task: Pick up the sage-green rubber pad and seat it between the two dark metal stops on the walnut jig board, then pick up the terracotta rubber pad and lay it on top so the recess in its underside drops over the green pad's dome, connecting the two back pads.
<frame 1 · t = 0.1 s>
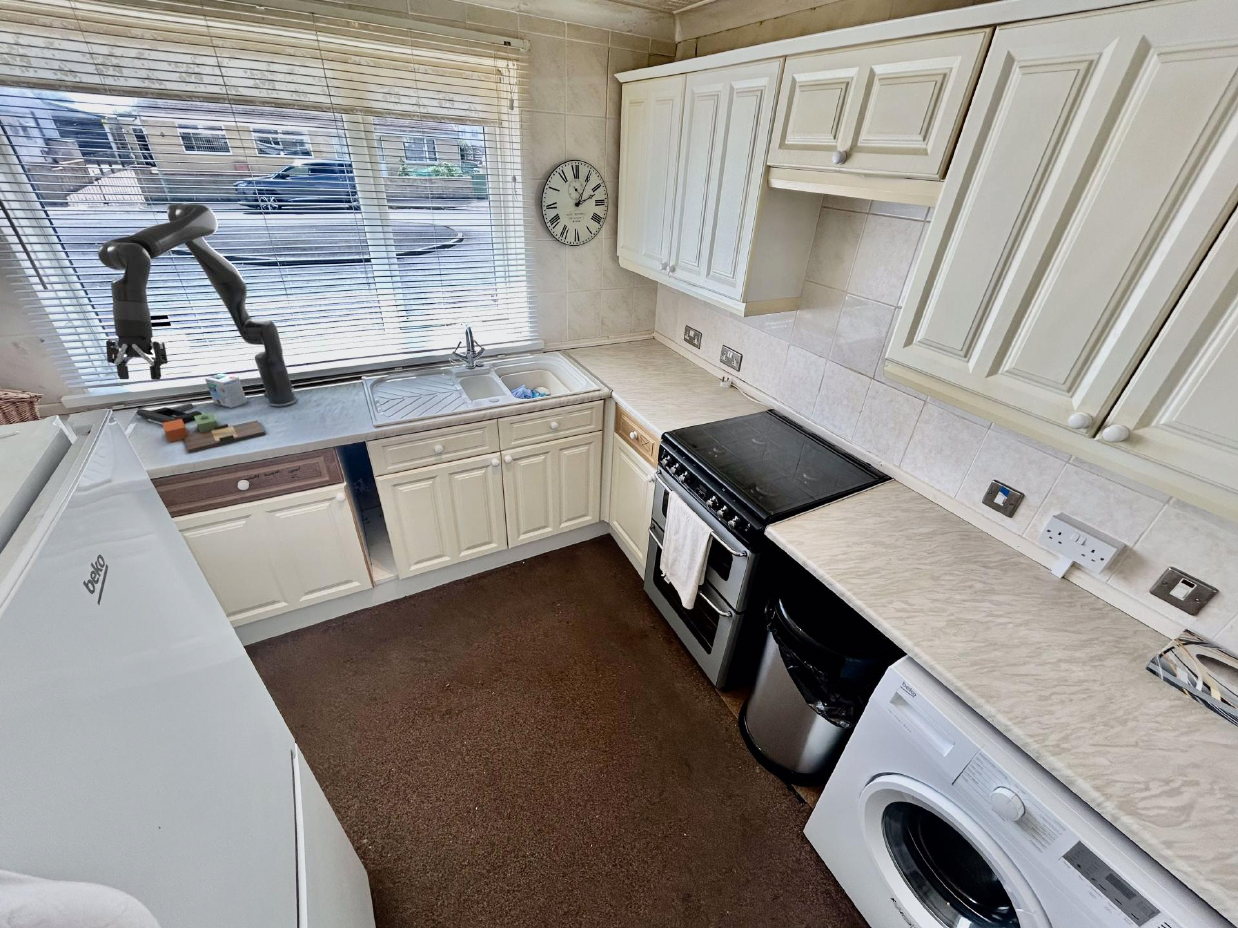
hand: (140, 379, 145), 31 cm above the table, tool tilted 20°, fingers open, 8 cm apart
jig board: (225, 437, 183), on the table
sage pad: (208, 428, 188), on the table
terracotta pad: (178, 435, 183), on the table
light bulb box: (231, 403, 208), on the table
door handle: (175, 416, 196), on the table
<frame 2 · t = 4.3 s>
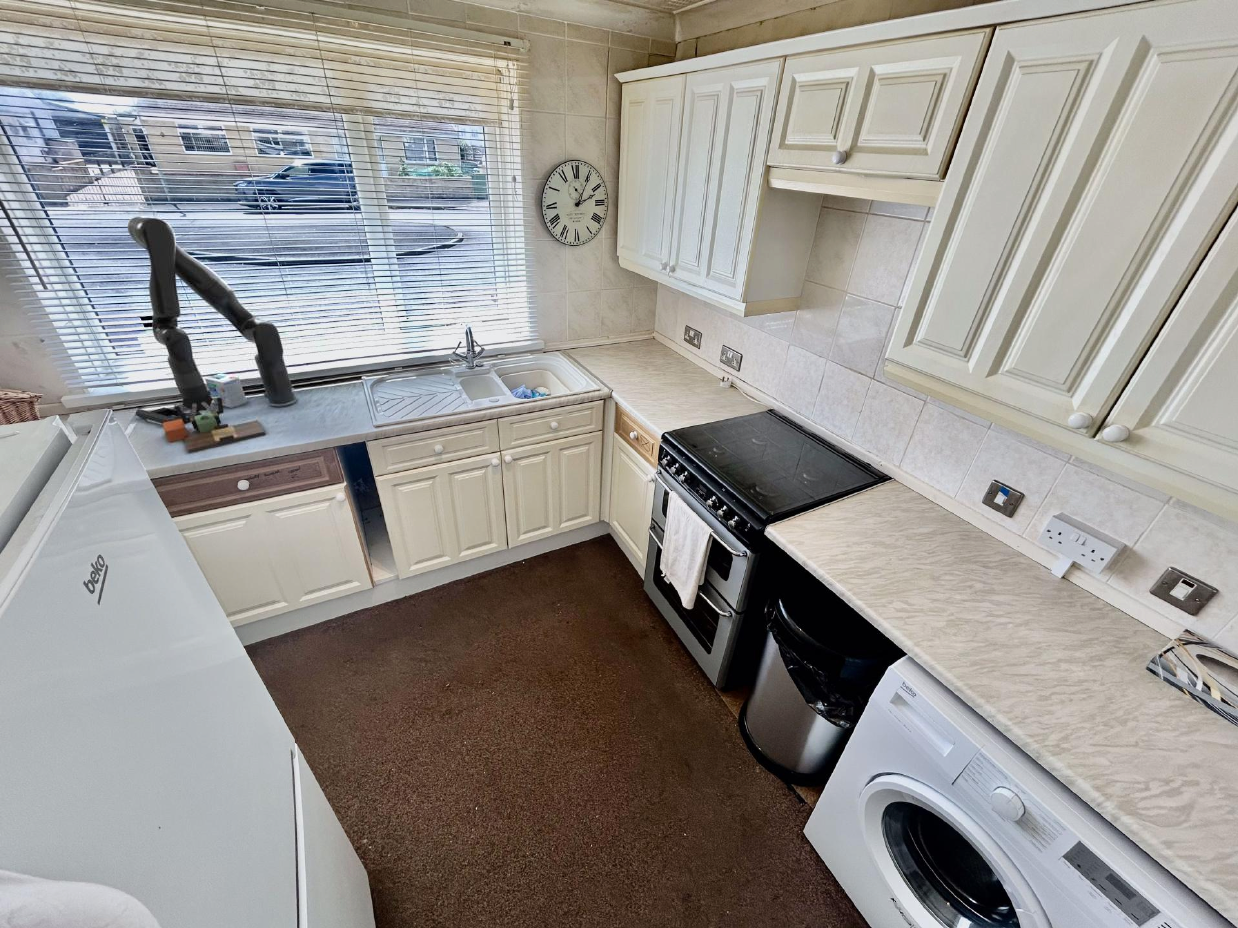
hand: (208, 427, 188), 1 cm above the table, tool pointing down, fingers closed on sage pad, 5 cm apart
sage pad: (208, 428, 188), on the table, touching gripper
everything else where it was.
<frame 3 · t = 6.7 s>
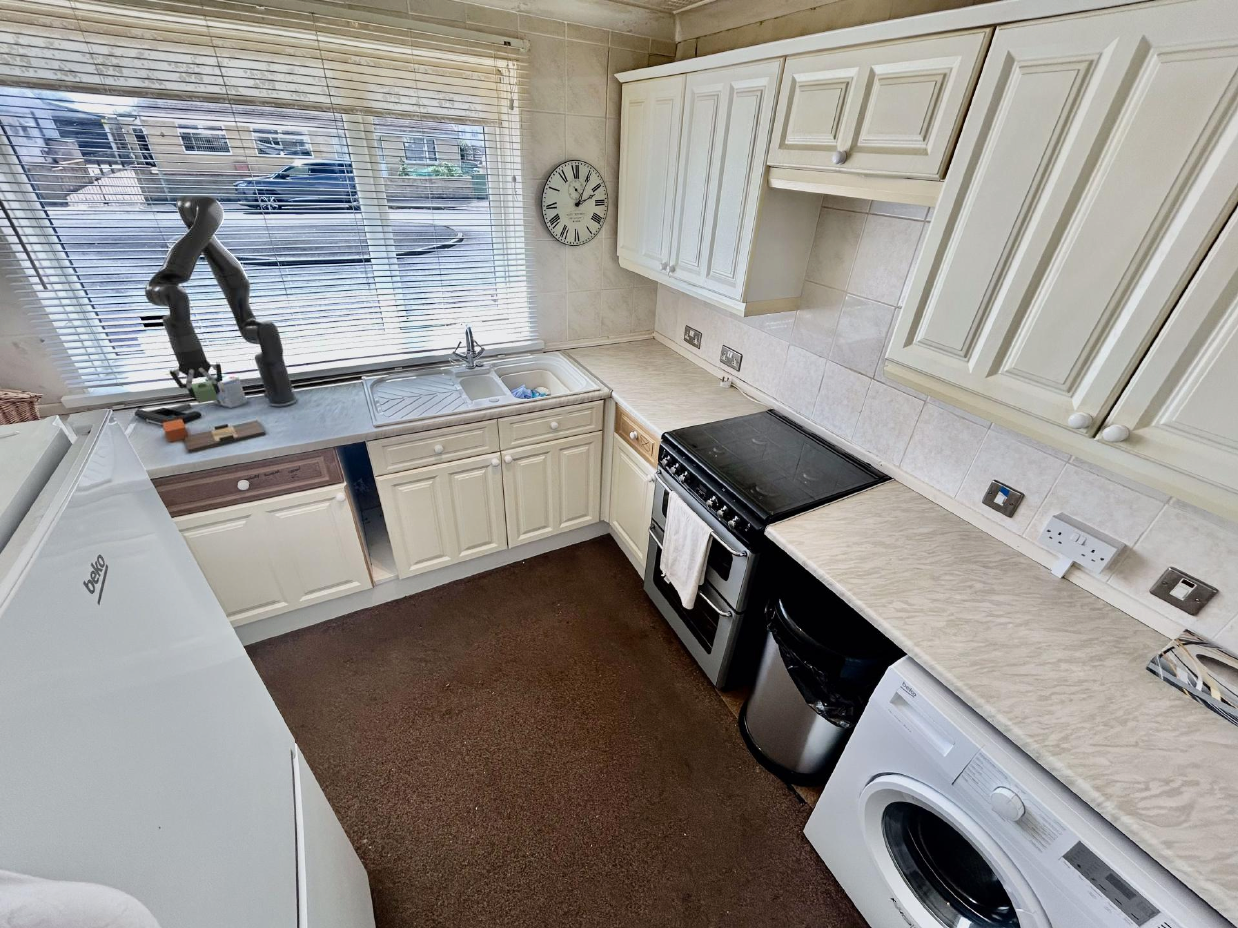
hand: (206, 395, 176), 15 cm above the table, tool pointing down, fingers closed on sage pad, 5 cm apart
sage pad: (206, 397, 176), point 15 cm above the table, touching gripper
everything else where it was.
when the fingers open (2 cm above the table, at t = 9.5 s): sage pad stays where it is, resting on jig board.
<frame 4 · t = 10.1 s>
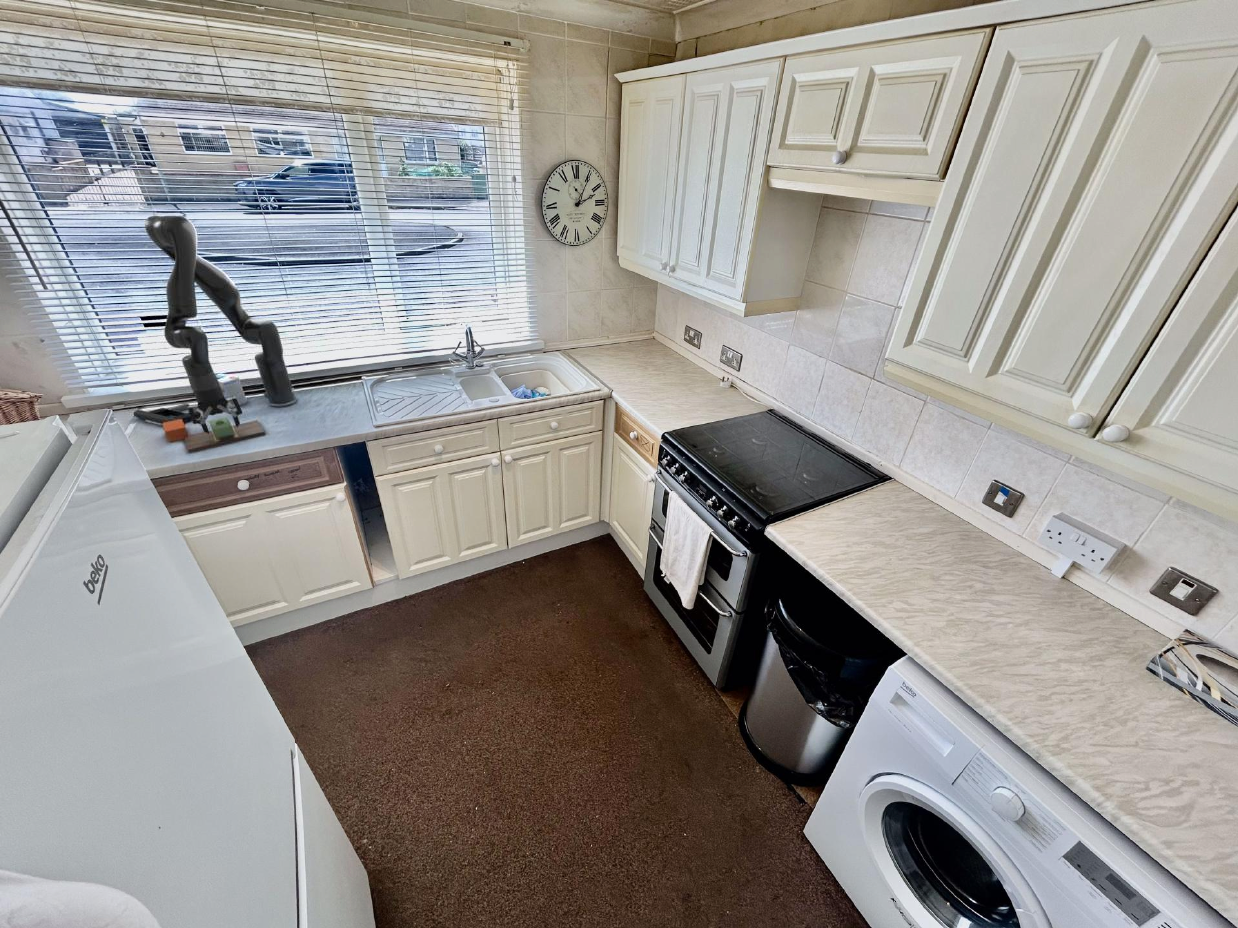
hand: (222, 429, 182), 3 cm above the table, tool pointing down, fingers open, 8 cm apart
sage pad: (224, 433, 182), point 1 cm above the table, touching jig board
everything else where it was.
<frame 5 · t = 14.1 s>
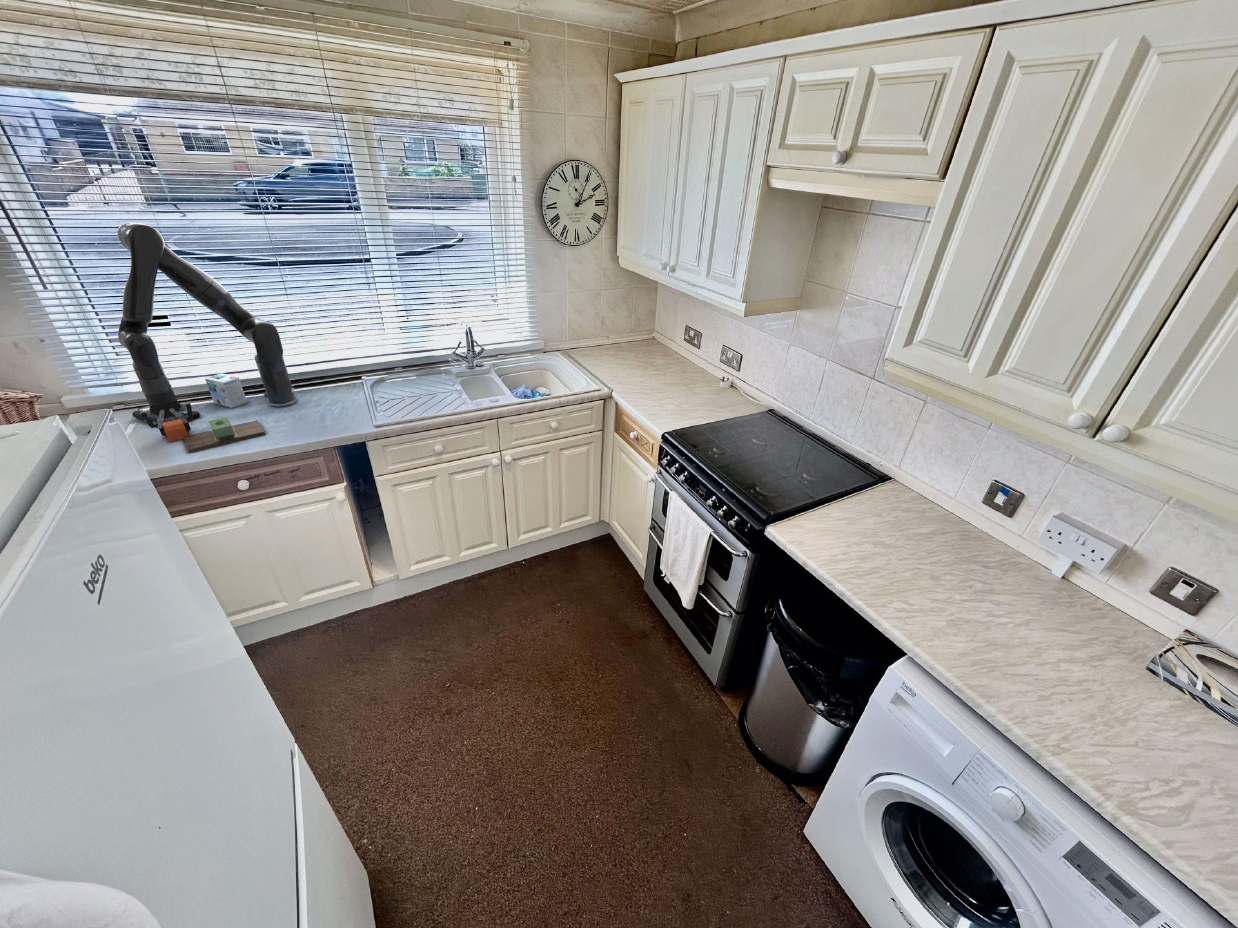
hand: (177, 434, 183), 1 cm above the table, tool pointing down, fingers closed on terracotta pad, 5 cm apart
terracotta pad: (178, 435, 183), on the table, touching gripper
everything else where it was.
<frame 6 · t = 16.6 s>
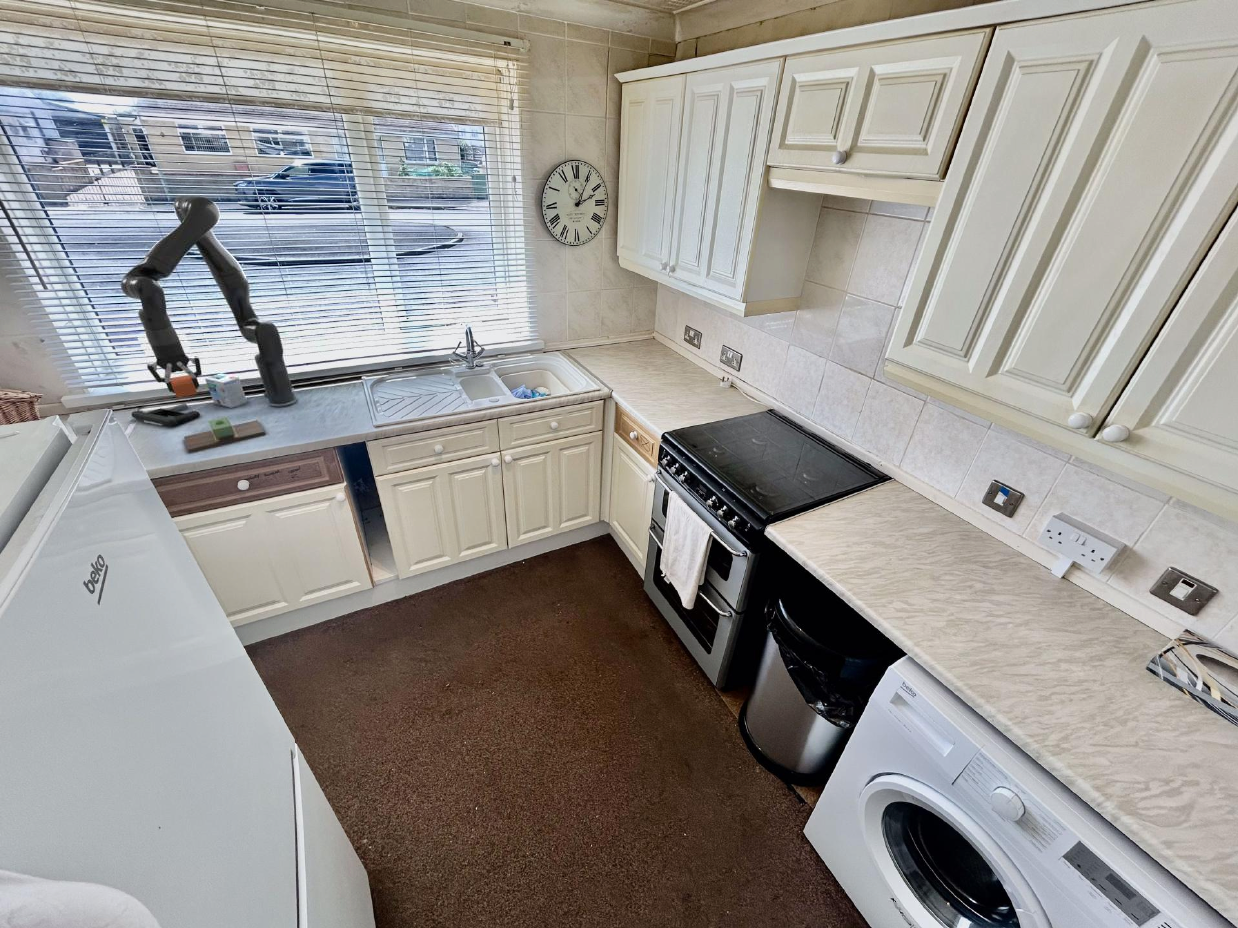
hand: (185, 390, 175), 17 cm above the table, tool pointing down, fingers closed on terracotta pad, 5 cm apart
terracotta pad: (186, 391, 175), point 17 cm above the table, touching gripper
when the fingers open (6 cm above the table, at t = 19.6 s): terracotta pad stays where it is, resting on sage pad.
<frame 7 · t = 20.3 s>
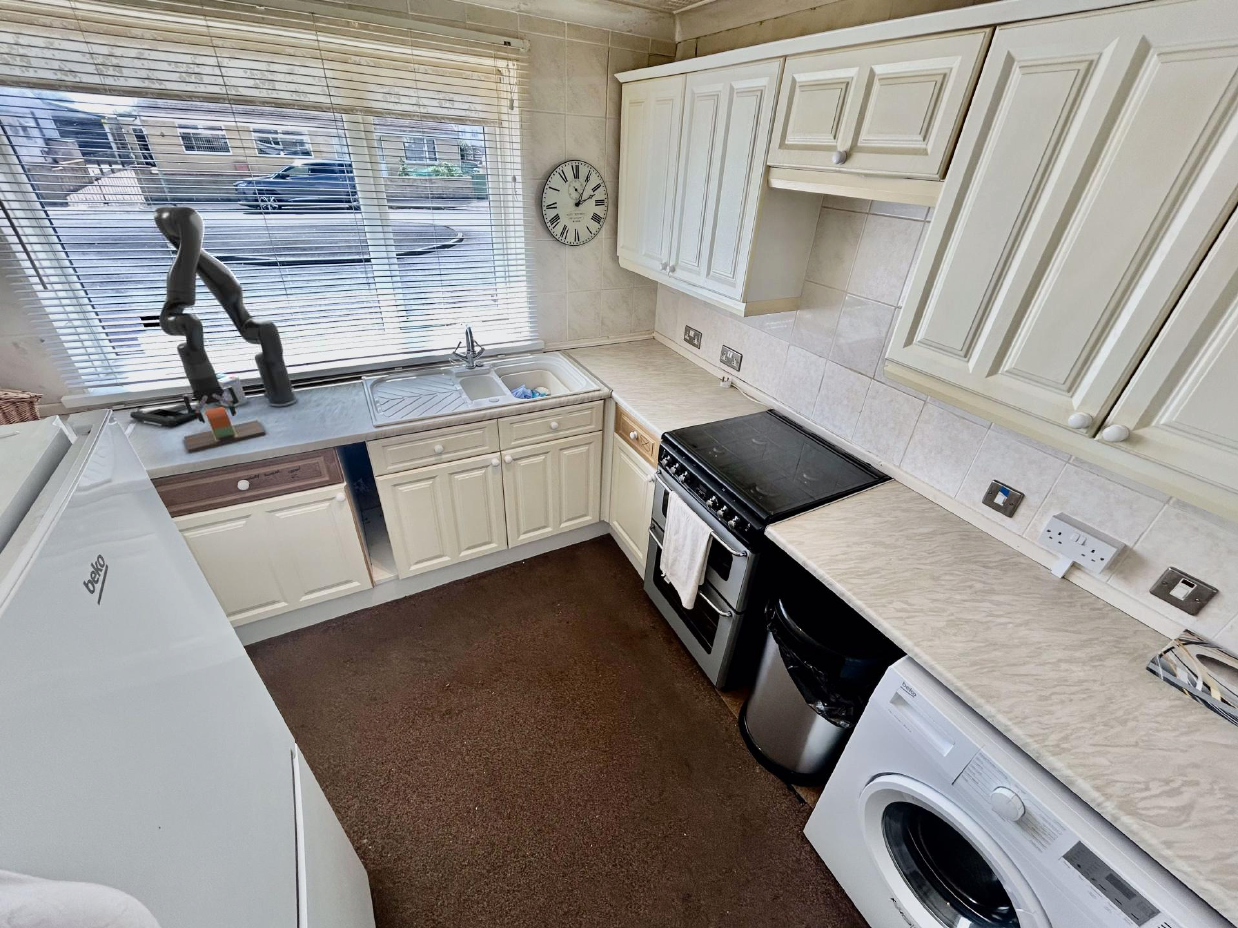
hand: (218, 418, 179), 7 cm above the table, tool pointing down, fingers open, 8 cm apart
sage pad: (224, 433, 182), point 1 cm above the table, touching jig board, terracotta pad
terracotta pad: (220, 423, 180), point 5 cm above the table, touching sage pad
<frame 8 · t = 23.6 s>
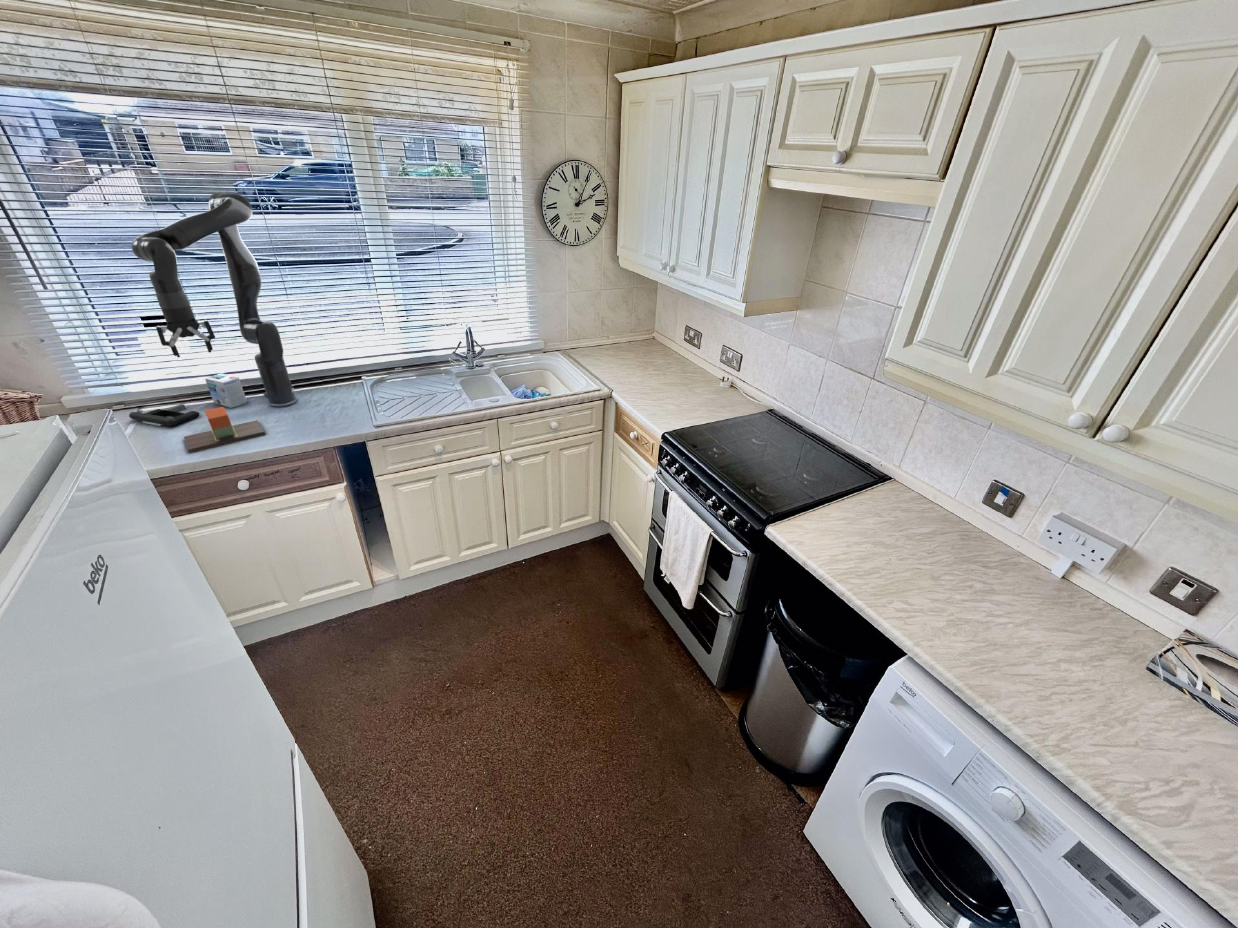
hand: (194, 354, 174), 28 cm above the table, tool pointing down, fingers open, 8 cm apart
at the end: sage pad 0.1 cm off-centre on the jig board, point 1.4 cm above the jig board's base; terracotta pad 0.0 cm off-centre on the sage pad, point 4.0 cm above the sage pad's base; terracotta pad tilted 0° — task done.
